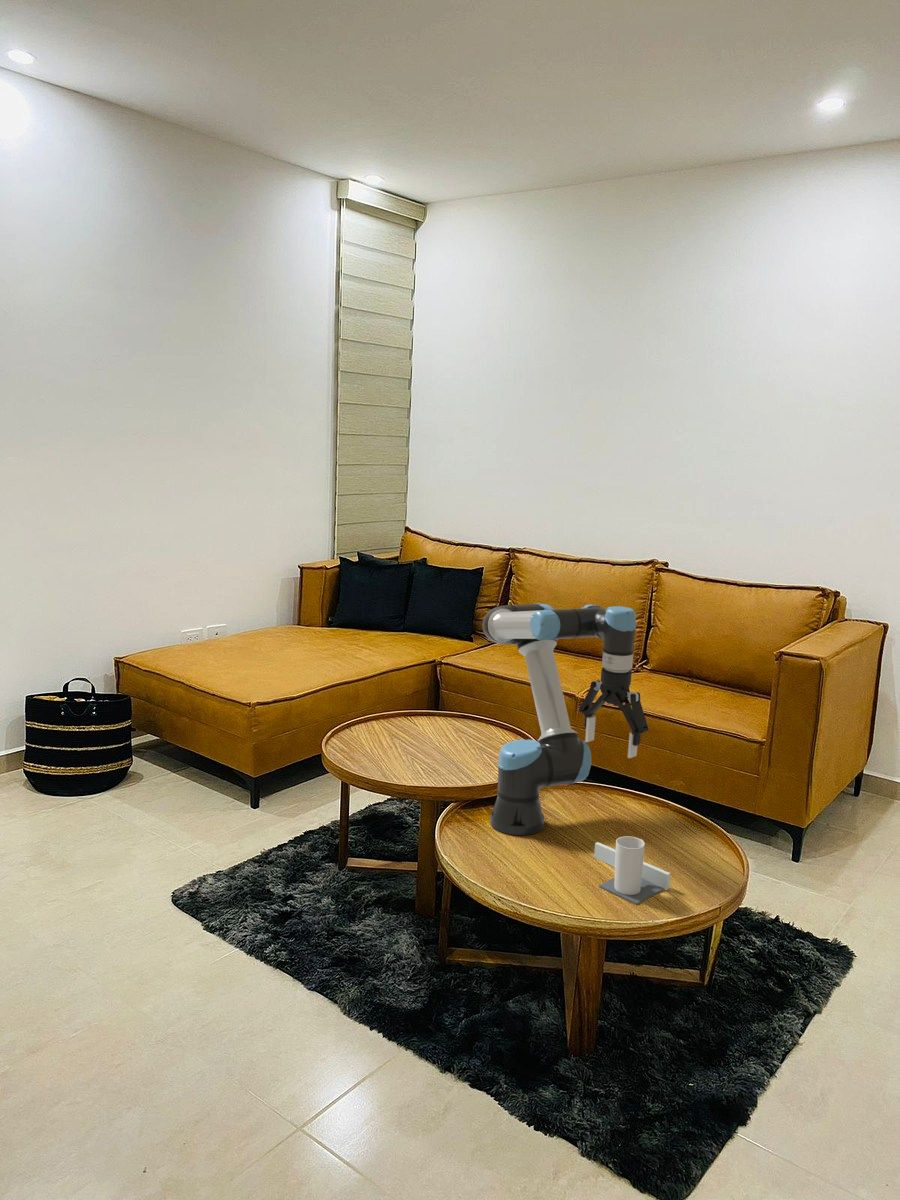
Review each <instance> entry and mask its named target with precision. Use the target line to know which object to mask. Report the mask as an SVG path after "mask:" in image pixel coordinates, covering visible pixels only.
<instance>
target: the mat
mask: <svg viewBox="0 0 900 1200" xmlns="http://www.w3.org/2000/svg"><path fill="white" fill-rule="evenodd" d="M614 880H615V877H613V878H611V879H609V880H608V881H605V882H603V883H601V884H599V885H598V887H599V888H600V889H602V890H604V891H606V892H607V893H608V892H609V893H611V894H612V895H615V896H617V897H619V898H621V899H624V900H626V901H627V902H629V903H632V904H634V905H636V906H637V905H639V904H641V903H642V902H645V901H646V900H649V899H650V898H652V897H653V896H655V895H658V894H659V893H661V892H663V891H664V890H665V889H664V888H662V887H659V886H657V885H655V884H653V883H651V882H648V881H646V880H644V879H642V881H641V890H640V892H639V893H638V894H635V895H625V894H621V893H619V892H617V891H616V890H615V888H614Z"/></svg>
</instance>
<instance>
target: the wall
mask: <svg viewBox="0 0 900 1200" xmlns="http://www.w3.org/2000/svg"><path fill="white" fill-rule="evenodd" d="M615 852H616V848H615V849H614V848H613V847H610V846H608V845H606V844H604V843H601V842H598V841H597V842H595V843H594V856H593V858H594V859H596V860H598V861H600V862H603V863H605V864H607V865H610V866H612V867H614V868H615ZM642 879H644V880H646V881H648V882H651V883H653V884H655V885H657V886H659V887H662V888H664V890H665V891H667V890H669V889H670V881H671V872H668V871H666V870H663V869H662V868H659V867H657V866H654V865H653V864H650V863H647V862H645V861H643V869H642Z"/></svg>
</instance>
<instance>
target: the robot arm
mask: <svg viewBox="0 0 900 1200" xmlns="http://www.w3.org/2000/svg"><path fill="white" fill-rule="evenodd" d="M636 617H637V613H636V610H634V609H633V608H631V607H626V606H623V605H622V606H620V605H618V606H617V605H615V606H609V607H607V608H604V607H603V606H600V605H597V604H596V605H595V604H586V605H584V606H582V607H581V608H580V607H579V608H568V609H567V608H565V609H563V608H561V609H555V608H554V607H553V606H551V605H549V604H546V603H537V602H535V603H528V604H512V605H509V604H508V605H507V604H506V605H499V606H495V607H494V608H492V609H490V610H488V612H487V613H486V614H485V615H484V617H483V620H482V632H483V633H484V635H485V637H486V638H487V639H488V640H489V641H490V642H493V643H494V644H495V643H496V644H498V645H516V646H517V649H518V653H519V654H520V655H522V656H523V657H524V659H525V664H526V667H527V673H528V677H529V682H530V687H531V691H532V696H533V700H534V705H535V710H536V715H537V719H538V720H537V721H538V724H539V728H540V732H541V735H540V736H539V738H538V739H537V740H534V739H530V738H529V739H525V738H521V739H515V740H512V741H509V742H505V744H504V745H503V746H502V747H501V748H500V750H499V755H498V761H497V765H498V770H497V772H498V774H497V797H496V800H495V802H494V805H493V808H492V810H491V813H490V821H489V823H490V826H491V827H492V828H493V829H495V830H496V831H498V832H500V833H502V834H507V835H511V836H512V835H513V836H529V835H533V834H534V835H535V834H536V833H539V832H541V831H542V830H543V829H544V828H545V816H544V813H543V810H542V805H541V802H540V789H541V788H545V787H546V788H547V787H552V786H553V787H554V786H562V785H572V784H576V783H580V782H583V781H584V780H586V778H587V777H588V776H589V774H590V770H591V766H592V753H591V752H592V751H591V749H590V746H589V745H588V743H590V742H592V741H595V732H596V730H595V729H596V721H597V720H596V719H597V716H595V713H596V712H597V711H598V710H599V709H600V708H601V707H602V706H603V705H604V704H609V705H610V704H611V705H613V706H614V707H618V709H619V710H620V711H621V712H622V714H623V716H624V718H625V721H626V722H627V723H628V726H629V728H630V730H631V731H629V735H628V736H629V737H628V749H627V758H628V759H632V758H634V757H636V756H637V754H638V746H640V745H641V738H642V734H644V733H646V732H648V731H649V729H650V728H649V726H648V722H647V720H646V716H645V712H644V708H643V706H642V702H641V693H640V692H639V691H638V692H631V691H630V687H631V684H632V675H633V674H632V669H633V664H634V648H635V638H636V629H637V621H636V620H637V618H636ZM580 638H582V639H583V638H597V639H600V640H603V641H602V643H603V644H602V645H603V646H602V647H603V648H602V658H601V659H602V660H601V666H602V668H601V670H600V671H601V672H600V680H599V679H597V680H594V681H591V683H590V687H589V690H588V691H587V693H586V696H585V697H584V699H583V701H582V703H581V705H580V706H579V708H578V713H582V714H583V716H584V728H585V740H582V739H580V737H579V735H578V732H577V731H576V730H574V729H572V727H571V722H570V717H569V714H568V711H567V710H568V709H567V705H566V701H565V697H564V692H563V689H562V682H561V679H560V674H559V670H558V665H557V661H556V657H555V652H554V649H555V648H556V646H557V645H558V644H557V643H558V642H557V641H558V640H563V639H580ZM599 691H600V692H601V694H600V696H599V697H598V698H597V700H595V698H596V697H597V695H598V693H599ZM594 701H595V702H594Z"/></svg>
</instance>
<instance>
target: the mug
mask: <svg viewBox="0 0 900 1200" xmlns="http://www.w3.org/2000/svg"><path fill="white" fill-rule="evenodd" d="M645 845H646V843H645V841H644V839H641V838H638V837H635V836H627V835H625V836H620V837H618V838H617V839H616V840H615V850H616V852H615V867H614V878H615V880H614V888H615V890H616V891H617V892H619V893H621V894H625V895H635V894H638V893H639V892H640V890H641V881H642V869H643V862H644V858H645V847H646V846H645Z"/></svg>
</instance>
